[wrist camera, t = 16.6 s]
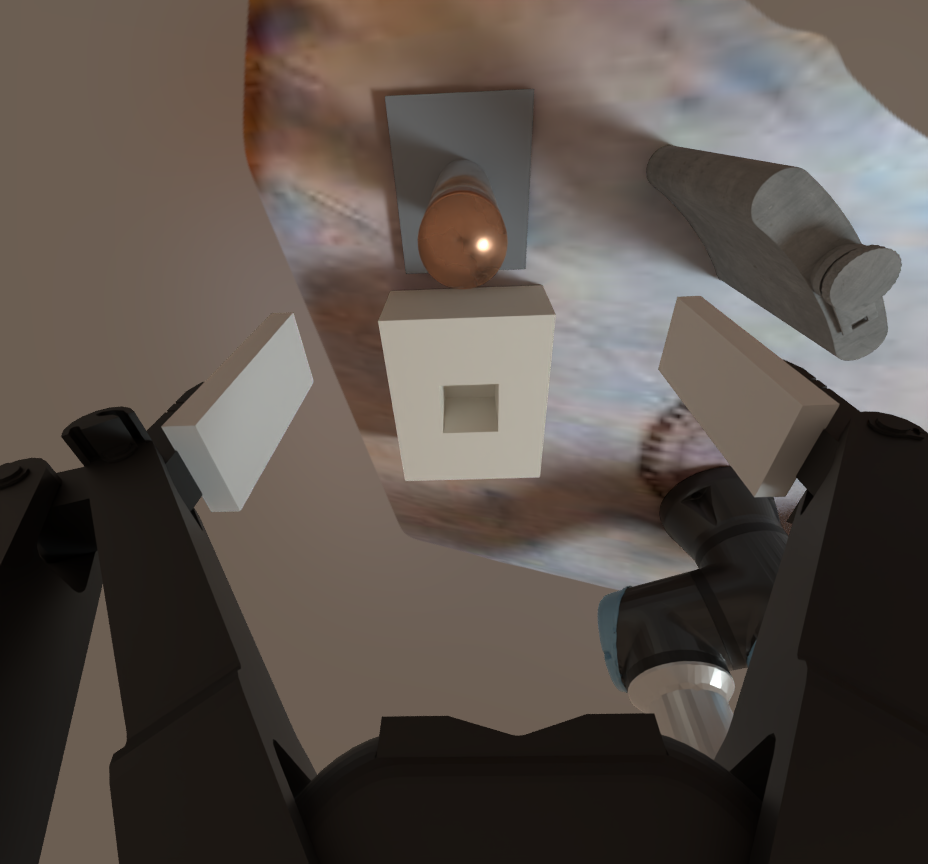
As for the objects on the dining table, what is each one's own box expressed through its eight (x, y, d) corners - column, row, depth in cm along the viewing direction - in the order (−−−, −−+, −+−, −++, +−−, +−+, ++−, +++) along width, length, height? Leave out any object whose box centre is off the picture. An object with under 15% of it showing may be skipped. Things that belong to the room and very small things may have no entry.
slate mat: (524, 266, 43) (525, 269, 42) (406, 270, 43) (405, 273, 42) (532, 89, 34) (534, 88, 34) (386, 96, 35) (384, 96, 34)
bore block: (531, 435, 56) (539, 477, 50) (411, 439, 57) (405, 481, 50) (542, 285, 44) (555, 314, 38) (390, 290, 45) (378, 321, 38)
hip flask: (639, 168, 38) (765, 210, 22) (680, 126, 36) (850, 140, 20) (725, 287, 44) (871, 387, 28) (764, 257, 43) (942, 346, 27)
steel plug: (490, 221, 40) (506, 287, 25) (437, 223, 40) (422, 290, 25) (490, 157, 36) (508, 191, 22) (432, 160, 37) (412, 195, 22)
